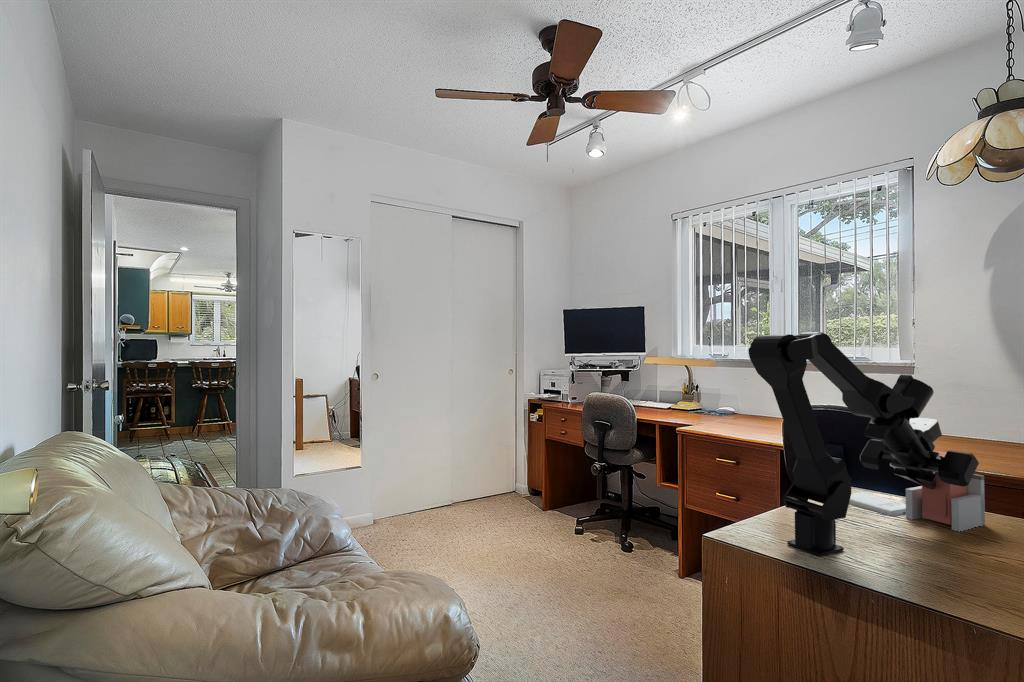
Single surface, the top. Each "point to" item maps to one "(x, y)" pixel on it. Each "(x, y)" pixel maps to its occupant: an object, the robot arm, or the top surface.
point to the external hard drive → (877, 504)
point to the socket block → (955, 505)
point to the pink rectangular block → (940, 499)
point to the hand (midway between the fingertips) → (933, 487)
